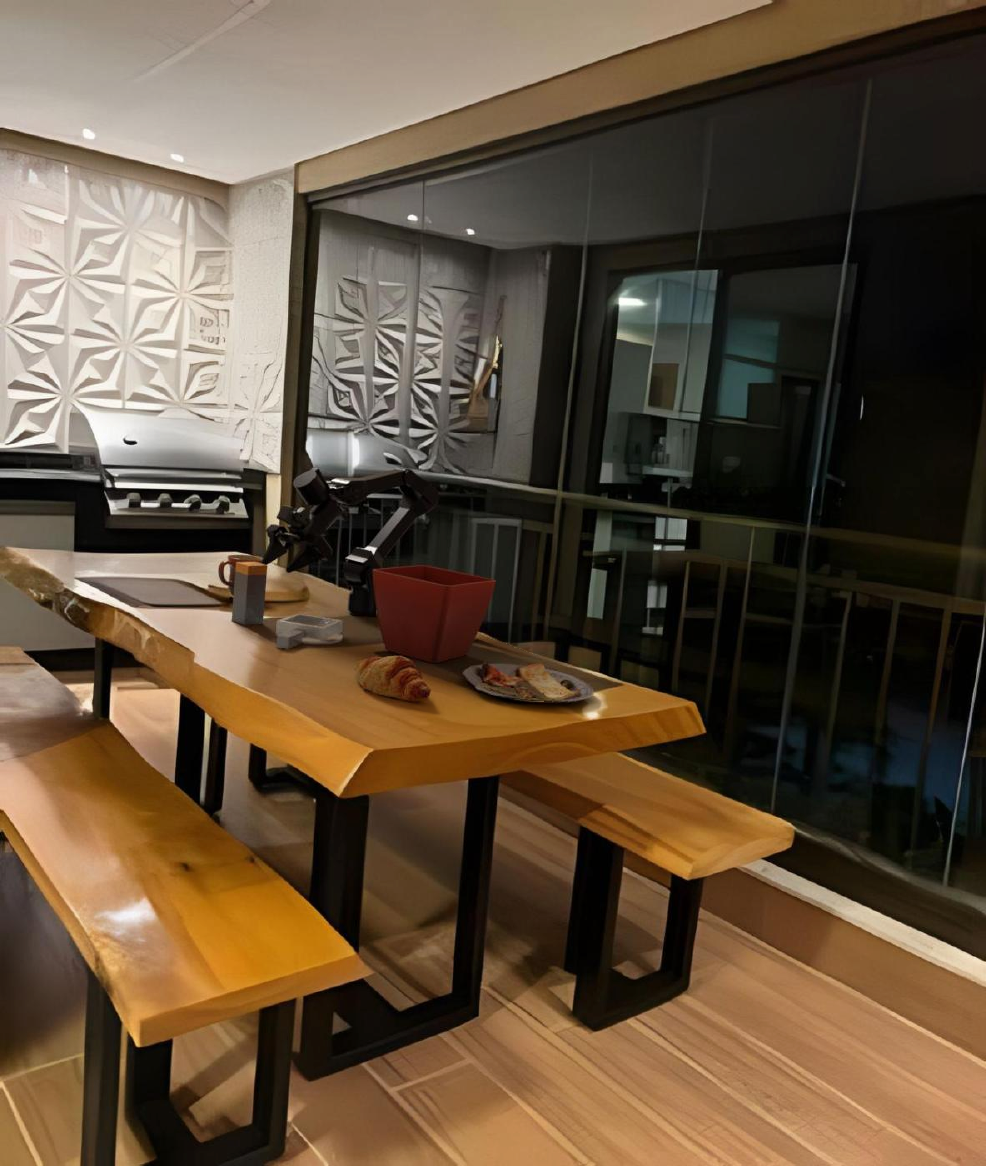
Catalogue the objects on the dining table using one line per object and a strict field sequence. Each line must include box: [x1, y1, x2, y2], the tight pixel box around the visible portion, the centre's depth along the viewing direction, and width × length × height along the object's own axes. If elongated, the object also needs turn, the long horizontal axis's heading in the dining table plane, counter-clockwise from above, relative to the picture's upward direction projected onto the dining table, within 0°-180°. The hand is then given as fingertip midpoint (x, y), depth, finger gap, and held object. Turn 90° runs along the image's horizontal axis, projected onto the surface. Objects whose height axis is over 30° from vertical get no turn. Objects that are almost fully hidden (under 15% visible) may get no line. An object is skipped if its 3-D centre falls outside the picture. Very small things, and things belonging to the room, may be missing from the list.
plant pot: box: [373, 564, 497, 664], centre depth 202 cm, size 19×19×17 cm
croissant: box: [354, 655, 432, 702], centre depth 171 cm, size 21×10×8 cm, turn 42°
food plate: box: [461, 661, 595, 703], centre depth 182 cm, size 25×23×4 cm
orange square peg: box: [231, 562, 268, 626], centre depth 212 cm, size 5×5×13 cm
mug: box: [217, 554, 263, 596], centre depth 238 cm, size 12×9×10 cm
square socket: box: [275, 612, 344, 650], centre depth 202 cm, size 20×14×4 cm
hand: (274, 568), depth 216 cm, fingers open, 9 cm apart
